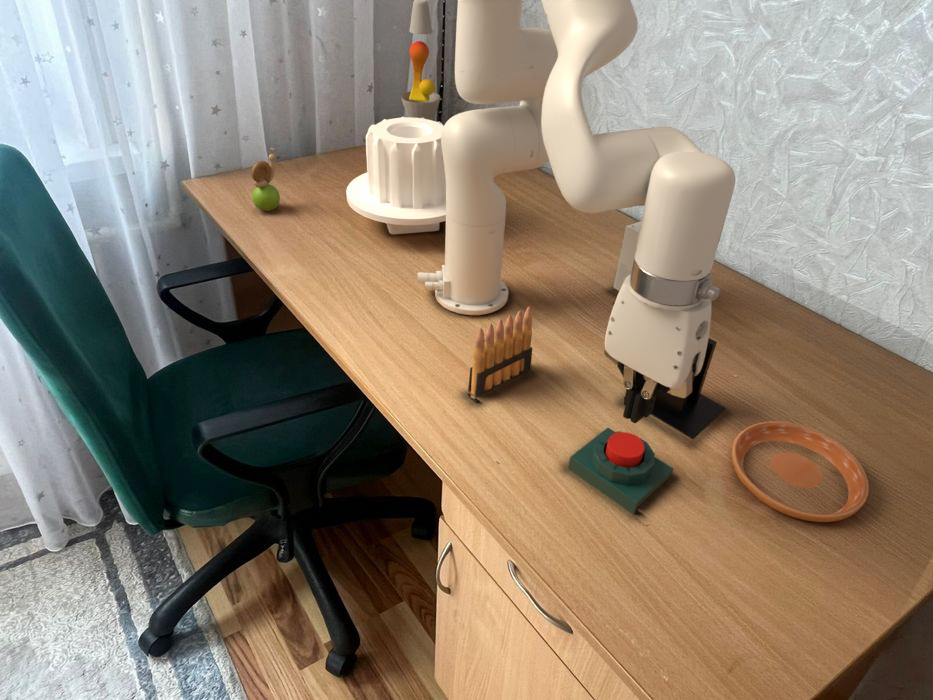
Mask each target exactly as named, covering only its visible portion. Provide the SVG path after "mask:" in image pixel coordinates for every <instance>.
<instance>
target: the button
mask: <svg viewBox="0 0 933 700" xmlns="http://www.w3.org/2000/svg"><path fill="white" fill-rule="evenodd" d="M635 435H636V434H634V435H633V433H630V432H625V431H620V432H618V433H615V434H613V435H611V436H610V437H609V439H608V443H607V448H606V456H607V458H608V459H609V460H610V461H611V462H612V463H614V464H615V465H617V466H621V467H626V468H631V467H635V466H637V465H638V464H639V463H640V462H641V460H642V456H643V453H644V444H643V442H642V441H641V439H642V438H641V439H639V438H640V437H639V436H638V437H639V438H638V437H637V435H636V436H635Z"/></svg>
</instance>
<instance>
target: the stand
mask: <svg viewBox="0 0 933 700" xmlns="http://www.w3.org/2000/svg"><path fill="white" fill-rule="evenodd" d="M717 344H718V342H717V340H715V339H712V338H710V337H709V338H708V344H707V349H706V354H705V358H704V362H703V366H702V368H701V371H700V372H699V373H698V374H697V375H696V376H695V375H693V374H692V392H691V393H690V394H689V395H688V396H687V397H686V398H680V397H677V396H674V395H671V394H670V393H665V394H661V395H657V396H656V400H655V404H654V408H653V411H652V413H651V414H650V416H652V417H654V418H656V419H657V420H659V421H661V422H663V423H664V424H666V425H668V426H669V427H671V428H672V429H675V430H676V431H678V432H679V433H681V434H683V435H685V436H686V437H688V438H689V439H692V440H693V439H694V438H695V437H697V435H698V434H699V433H701V432H702V431H703V430H704V429H706V427H708V426H709V424H711V423H712V422H713V421H714V420H715V419H716V418H717V417H718V416H719V415H720V414H722V413H723V412H724V411H725V410H726V409H727V408H726V406H725V405H722V404H720V403H718V402H716V401H714V400H712V399H711V398H709V397H707V396H705V395H703V394H702V389H703V387H704V385H705V380H706V378H707V375H708V371H709V369H710V365H711V362H712V359H713V356H714V353H715V349H716V347H717ZM624 399H625V396H624V397H623V400H624Z"/></svg>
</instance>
